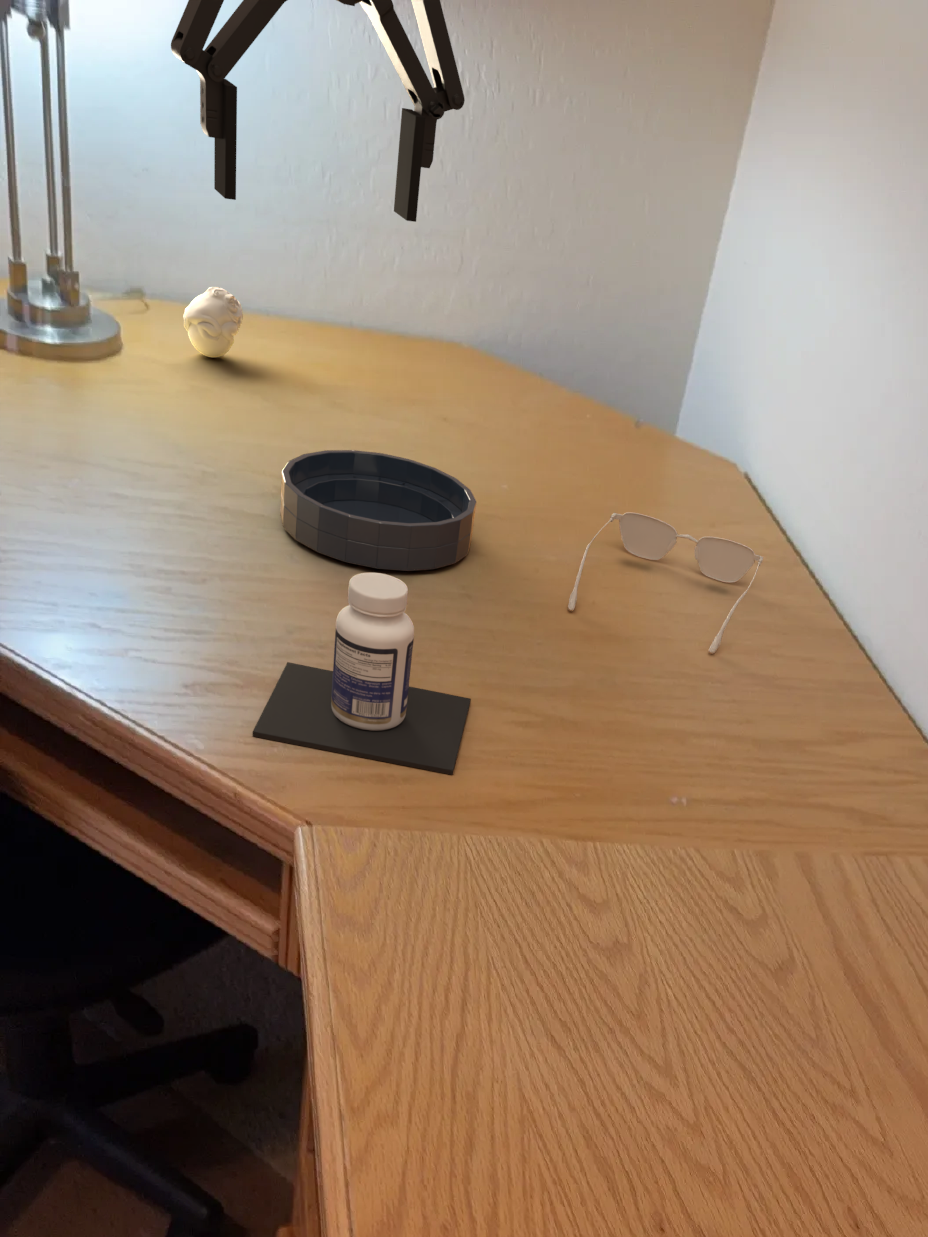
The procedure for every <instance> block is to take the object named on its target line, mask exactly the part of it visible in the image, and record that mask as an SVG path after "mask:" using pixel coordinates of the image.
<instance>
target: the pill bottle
mask: <svg viewBox="0 0 928 1237" xmlns="http://www.w3.org/2000/svg"><path fill="white" fill-rule="evenodd" d="M408 595H409V588H408V586H407V584H406V583H405V582H404V581H403V580H401V579H399V578H397V577H395V576H393V575H389V574H386V573H381V572H362V573H361V572H360V573H357V574H355V575H353V576H352V577H351V578H350V579H349V581H348V589H347V603H348V605H346V606H344V607H343V608H342V609H340V611H339V612H338V614H337V616H336V620H335V630H334V632H335V634H334V648H333V664H332V665H333V666H332V671H333V681H332V697H331V707H332V711H333V713H334V715H335V716H336V717H337V718H338V719H339V720H341V721H342V722H344V723H346V724H347V725H350V726H352V727H355V728H359V729H363V730H371V731H381V730H387V729H391V728H393V727H396V726H397V725H399V724H400V723H401V722H402V721H403V720H404V718H405V715H406V709H407V699H408V690H409V686H410V679H411V670H412V659H413V651H414V650H413V648H414V642H415V626H414V624H413V621H412V619H411V617H410V616H409V615H408V614H407V613H406V610H407V606H408Z"/></svg>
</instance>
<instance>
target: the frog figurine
mask: <svg viewBox="0 0 928 1237" xmlns="http://www.w3.org/2000/svg"><path fill="white" fill-rule="evenodd" d="M182 318H183V328H184V330H186V331H187V335H188V339H189V341H190V343H191V345H192V346H193V347H194V349H195V350H196V351H197V352H198V353H200V354H201V355H203V356H205V357H208V358H220V357H223V356H224V355H225V354H227V353H228V352H229V351H230V349H231V348H232V346H234V343H235V339H234V336H237V335H238V334H239V330H240V328H241V326H242V324H243V319H244V312H243V307H242V304H241V302H240V301H239V300H238V299H237V298H236V297H235V296H234V295H233V294H232V293H230V292H229V291H228V290H226V289H224V288H222V287H219V286H209V287H208V288H207V289H206V290H205V292H203V293H201V294H199V295H197V296H196V297H195V298H193V300H192V301H191V302H190V303H189V304H188V306H186V308H184V313H183V315H182Z"/></svg>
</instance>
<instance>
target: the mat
mask: <svg viewBox="0 0 928 1237" xmlns="http://www.w3.org/2000/svg"><path fill="white" fill-rule="evenodd" d="M278 678H279V679H278V681H277V683H276V684H275V687H274V688H273V690H272V692H271V694H270V696H269V699H267V702H266V705H265V706H264V708H263V710H262V712H261V714H260V716H259V718H258V720H257V722H256V724H255V726H254V727H253V730H252V737H254V738H260V739H265V740H270V741H275V742H280V743H284V744H290V745H295V746H301V747H306V748H311V749H315V750H322V751H327V752H332V753H337V754H341V755H346V756H347V755H348V756H352V757H357V758H361V759H367V760H373V761H378V762H383V763H389V764H393V765H400V766H404V767H408V768H414V769H419V770H424V771H430V772H434V773H435V772H436V773H440V774H446V775H451V776H453V775H454V771H455V767H456V763H457V761H458V760H457V759H458V756H459V752H460V747H461V744H462V739H463V734H464V731H465V726H466V722H467V718H468V714H469V710H470V706H471V702H472V701H471V700H472V698H470V697H464V696H459V695H455V694H450V693H445V692H440V691H435V690H431V689H424V688H420V687H415V686H410V685H409V690H408V699H407V709H406V715H405V718H404V720H403V721H402V722H401V723H400V724H399V725H397V726H396V727H393V728H391V729H387V730H381V731H371V730H363V729H359V728H355V727H352V726H350V725H347V724H346V723H344V722H342V721H341V720H339V719H338V718H337V717H336V716H335V715H334V713H333V711H332V707H331V697H332V681H333V670H330V669H324V668H319V667H314V666H309V665H304V664H299V663H294V662H288V661H287V662H286V665H285V666H284V668H283V671H282V672H281V674H280V676H279V677H278Z"/></svg>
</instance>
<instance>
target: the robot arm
mask: <svg viewBox="0 0 928 1237" xmlns="http://www.w3.org/2000/svg"><path fill="white" fill-rule="evenodd" d="M224 1H225V0H188V1H187V3H186V6H185V8H184V10H183V13H182V15H181V18H180V20H179V22H178V24H177V27H176V29H175V32H174V34H173V37H172V38H171V40H170V50H171V52H172V54H173V55H174V56H175V57H176V58H177V59H178V60H180V61H181V62H183V64H185V65H188V67H190V68H192V69H193V70H195V71H196V72H197V74H198V78H199V92H200V93H199V105H200V106H199V111H200V112H199V120H200V121H199V122H200V124H199V125H200V127H201V129H202V132H203V133H204V134H205V135H206V136H207V137H208V138H213V139H214V180H213V181H214V190H215V191H216V192H217V193H218V194H220V196H222V197H223V199H225V200H233V201H235V200H237V141H238V140H237V138H238V137H237V135H238V133H237V132H238V130H237V129H238V125H237V124H238V86H236V85H235V84H234V83H232V82H231V81H229V80H228V79H227V78H226V77H227V76H228V75H229V73H230V72H231V71H232V70H233V68H234V67H235V66H236V64H238V62H239V61H240V60H241V58H242V57H244V56H243V55H245V53H246V52H247V50H248V49H250V47H251V46H252V44H253V43H254V42H255V40H256V39H257V38H258V37H259V35H260V34H261V33H262V32H263V31H264V29H265V28H266V27H267V25H268V24H269V23H270V22H271V20H272V19H273V18H274V17H275V15H276V14H277V13H278V11H279V10H280V9H281V8H282V7H283V5H284V4H285V3H286V2H287V1H288V0H242V1H241V2H240V3H239V5H238V6H237V8H236V9H235V10H234V11H233V12H232V14H231V15H230V17H229V18H228V19H227V21H226V22H224V24H223V26H222V27H221V28H220V29H219V31H218V32H217V33H216V34H215V36H214V37H213V38H212V40H211V41H210V42H209V43H208V44H207V46H206V47H205V45H206V43H207V40H208V38H209V36H210V34H211V31H212V29H213V26H214V25H215V23H216V20H217V18H218V16H219V14H220V11H221V8H222V6H223V4H224ZM410 1H411V5H412V8H413V12H414V16H415V19H416V23H417V26H418V31H419V34H420V35H419V36H420V38H421V42H422V46H423V49H424V54H425V57H426V61H427V65H428V68H429V72H430V75H431V80H432V83H433V85H432V83H431V80H430V79H429V77H428V75H427V73H426V71H425V69H424V67H423V65H422V63H421V61H420V58H419V57H418V55H417V52H416V51H415V49H414V46H413V45H412V42H411V41H410V39H409V36H408V35H407V33H406V31H405V29H404V26H403V25H402V23H401V20H400V19H399V16H398V14H397V13H396V10H395V8H394V3H393V0H336V2H339V3H341V4H343V5H346V6H352V7H355V6H356V5H357V4H360V6H361V8H362V9H363V11H364V12H365V13H366V15H367V16H368V18H369V20H370V22H371V24H372V26H373V28H374V30H375V32H376V34H377V36H378V38H379V40H380V42H381V44H382V45H383V47H384V49H385V51H386V54H387V55H388V57H389V60H390V61H391V64H392V65H393V67H394V70H395V71H396V73H397V75H398V77H399V79H400V81H401V82H402V85H403V87H404V89H405V91H406V93H407V94H408V97H409V98H410V100H411V103H412V104H413V106H414V110H413V109H411V108H404V107H401V116H400V117H401V118H400V128H399V139H398V140H399V142H398V151H397V152H398V154H397V165H396V176H395V190H394V204H393V212H394V213H395V214H397V215H398V216H400V217H401V218H402V219H404V220H405V221H407V222H415V223H416V222H417V218H418V217H417V216H418V207H419V194H420V185H421V184H420V183H421V175H422V174H421V172H422V168H423V169H431V166H432V163H433V161H434V151H435V144H436V143H435V142H436V141H435V140H436V132H437V122H438V120H440V119H442V118H443V117H444V115H445V112H448V111H453V110H454V111H459V110H461V109H462V108H463V106H464V105H465V99H466V98H465V94H464V90H463V86H462V81H461V79H460V75H459V70H458V66H457V62H456V58H455V55H454V51H453V46H452V43H451V38H450V35H449V31H448V30H449V29H448V27H447V23H446V18H445V14H444V11H443V7H442V2H441V0H410ZM204 47H205V48H204ZM433 86H434V87H433Z"/></svg>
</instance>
